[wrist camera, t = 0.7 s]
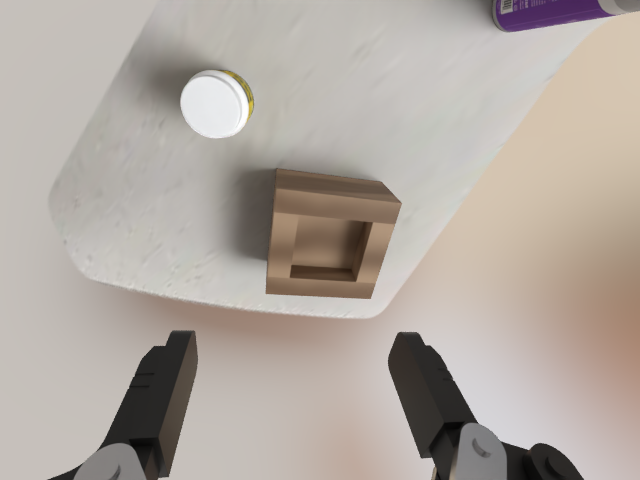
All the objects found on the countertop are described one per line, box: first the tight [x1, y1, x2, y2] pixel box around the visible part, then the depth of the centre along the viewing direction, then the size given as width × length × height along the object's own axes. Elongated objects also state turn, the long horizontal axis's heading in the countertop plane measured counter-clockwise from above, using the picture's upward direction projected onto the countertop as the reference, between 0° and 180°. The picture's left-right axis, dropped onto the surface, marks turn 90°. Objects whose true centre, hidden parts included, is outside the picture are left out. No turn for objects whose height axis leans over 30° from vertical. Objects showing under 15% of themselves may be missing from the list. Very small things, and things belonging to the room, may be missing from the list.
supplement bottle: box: [180, 70, 254, 138], centre depth 24 cm, size 5×5×8 cm
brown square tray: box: [266, 168, 402, 299], centre depth 33 cm, size 12×12×6 cm
